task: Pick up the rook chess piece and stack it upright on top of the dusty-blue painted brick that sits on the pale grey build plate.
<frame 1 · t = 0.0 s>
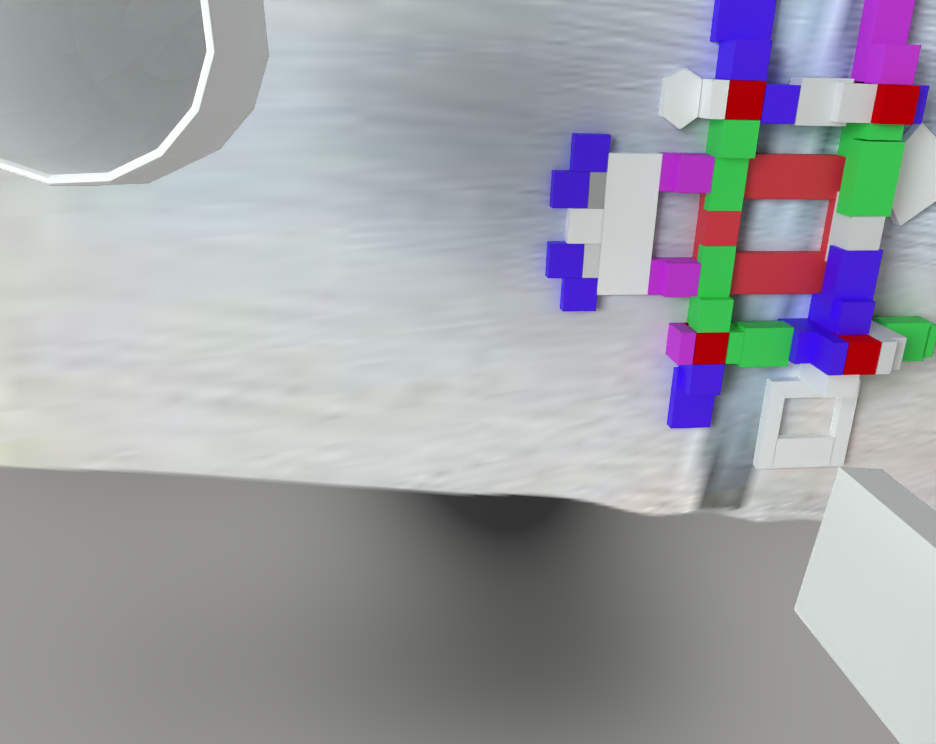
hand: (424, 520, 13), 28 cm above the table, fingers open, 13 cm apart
cup: (214, 38, 35), on the table
building block set: (741, 239, 42), on the table
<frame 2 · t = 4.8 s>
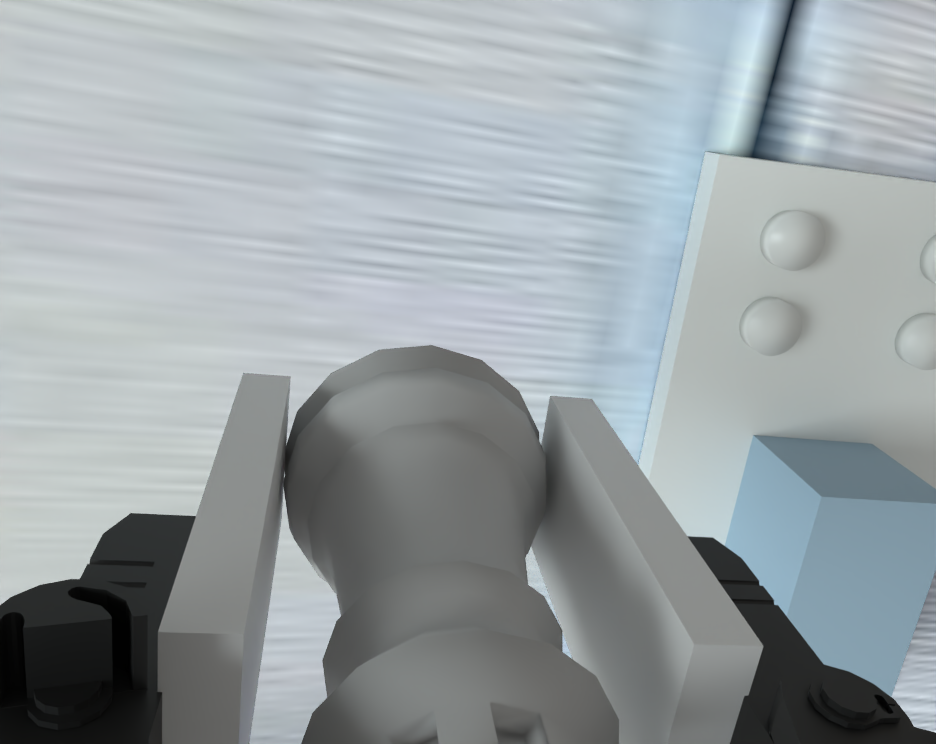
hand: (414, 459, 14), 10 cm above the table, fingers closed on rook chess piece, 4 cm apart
rook chess piece: (411, 449, 15), point 9 cm above the table, touching gripper
build plate: (789, 455, 27), on the table
blue brick: (781, 552, 27), point 1 cm above the table, touching build plate
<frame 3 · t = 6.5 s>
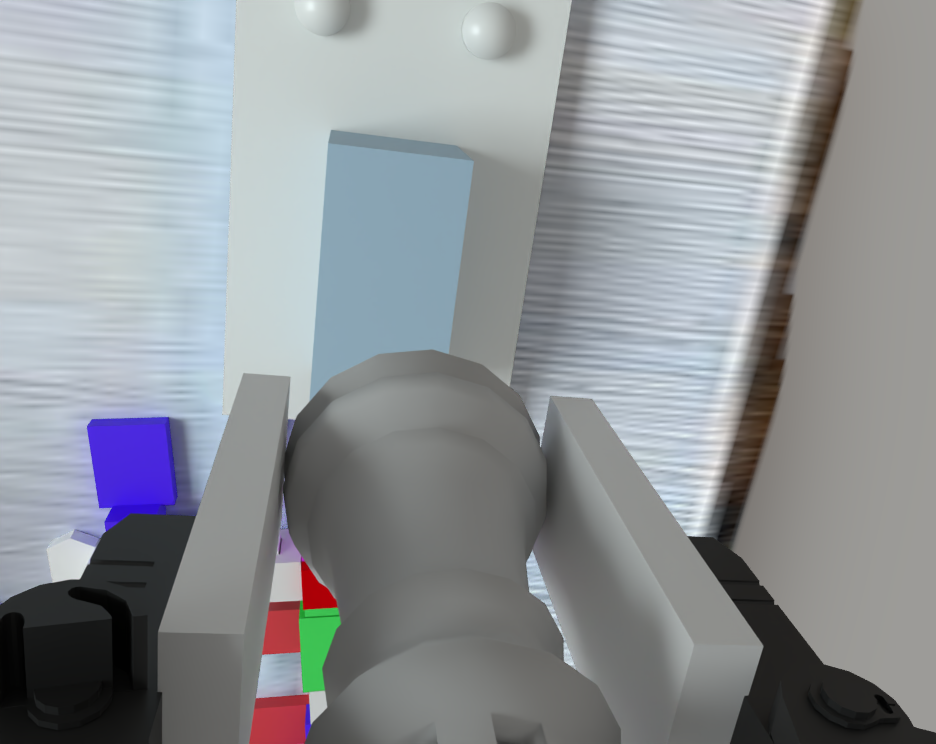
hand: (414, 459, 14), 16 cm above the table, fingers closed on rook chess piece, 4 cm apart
rook chess piece: (412, 454, 15), point 15 cm above the table, touching gripper
build plate: (390, 165, 28), on the table
blue brick: (382, 260, 28), point 1 cm above the table, touching build plate
building block set: (219, 680, 35), on the table
when the fingers open (6 cm above the table, at t = 8.3 s): rook chess piece stays where it is, resting on blue brick.
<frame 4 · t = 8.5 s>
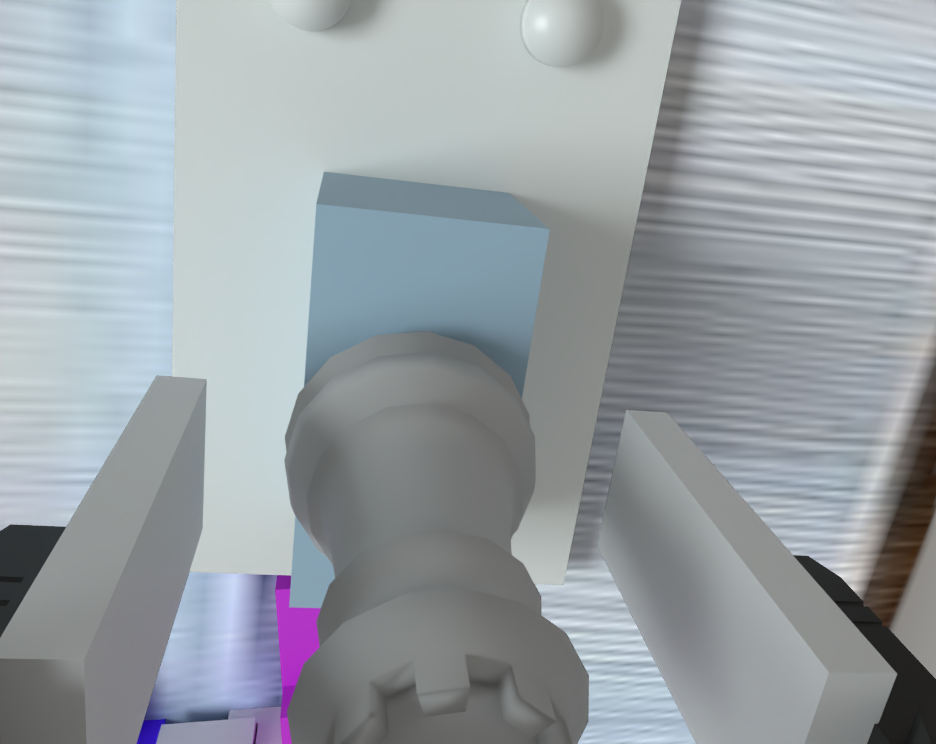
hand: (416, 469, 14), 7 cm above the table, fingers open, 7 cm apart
rook chess piece: (408, 431, 16), point 5 cm above the table, touching blue brick
build plate: (409, 220, 19), on the table
blue brick: (399, 357, 19), point 1 cm above the table, touching build plate, rook chess piece
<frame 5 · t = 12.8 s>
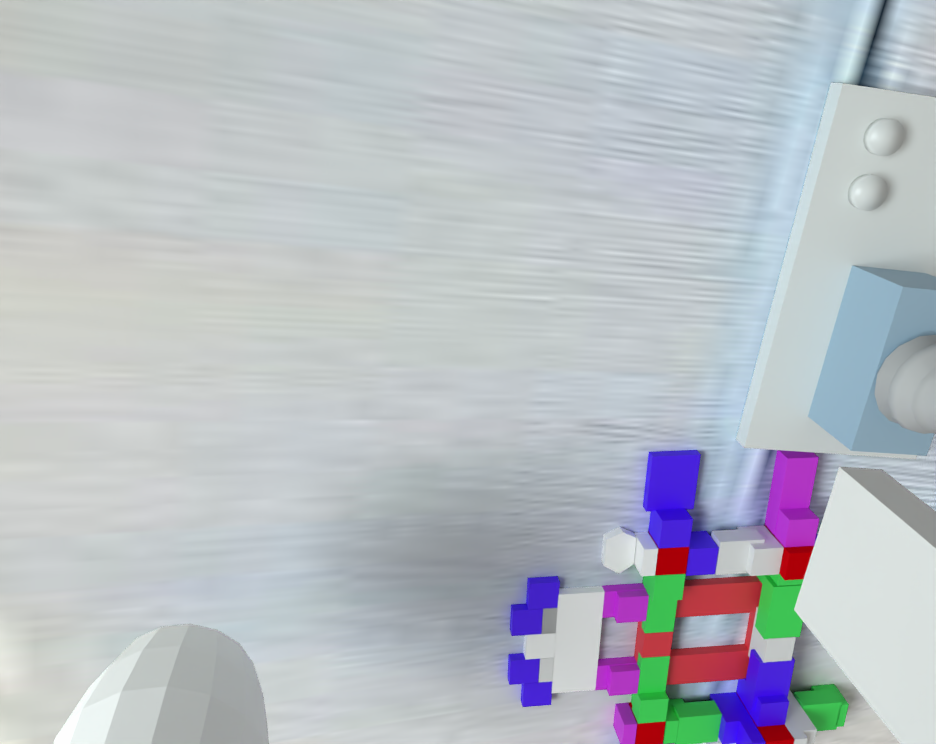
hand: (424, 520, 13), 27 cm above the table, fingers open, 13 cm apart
rook chess piece: (911, 375, 38), point 5 cm above the table, touching blue brick
build plate: (871, 284, 42), on the table
blue brick: (865, 346, 42), point 1 cm above the table, touching build plate, rook chess piece
cup: (224, 530, 42), on the table
building block set: (677, 634, 49), on the table
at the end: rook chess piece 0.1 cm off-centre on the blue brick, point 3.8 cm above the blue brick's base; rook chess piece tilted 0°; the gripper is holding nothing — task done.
